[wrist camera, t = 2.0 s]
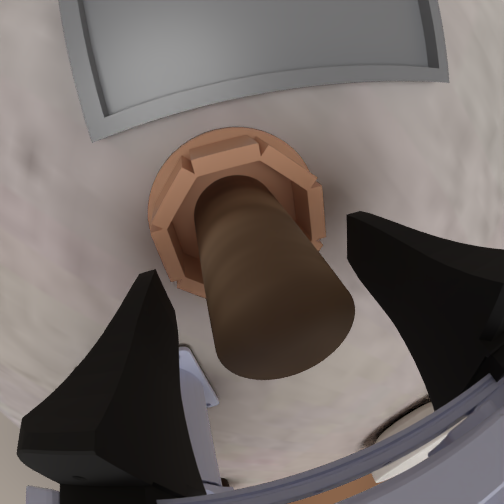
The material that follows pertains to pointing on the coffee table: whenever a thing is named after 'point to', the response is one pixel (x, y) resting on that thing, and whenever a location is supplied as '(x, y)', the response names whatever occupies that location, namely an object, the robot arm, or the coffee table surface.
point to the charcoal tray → (238, 51)
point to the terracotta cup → (218, 166)
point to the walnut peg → (265, 284)
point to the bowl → (414, 456)
